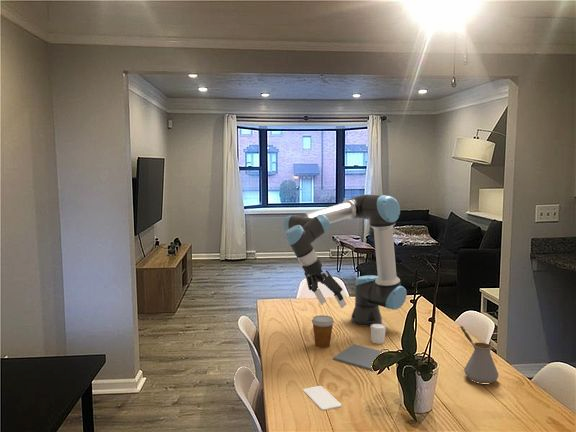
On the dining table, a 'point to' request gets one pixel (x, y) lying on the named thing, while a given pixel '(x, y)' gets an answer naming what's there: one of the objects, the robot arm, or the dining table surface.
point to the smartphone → (322, 398)
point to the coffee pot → (480, 363)
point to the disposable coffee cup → (322, 330)
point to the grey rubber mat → (358, 356)
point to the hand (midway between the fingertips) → (333, 304)
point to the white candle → (378, 333)
